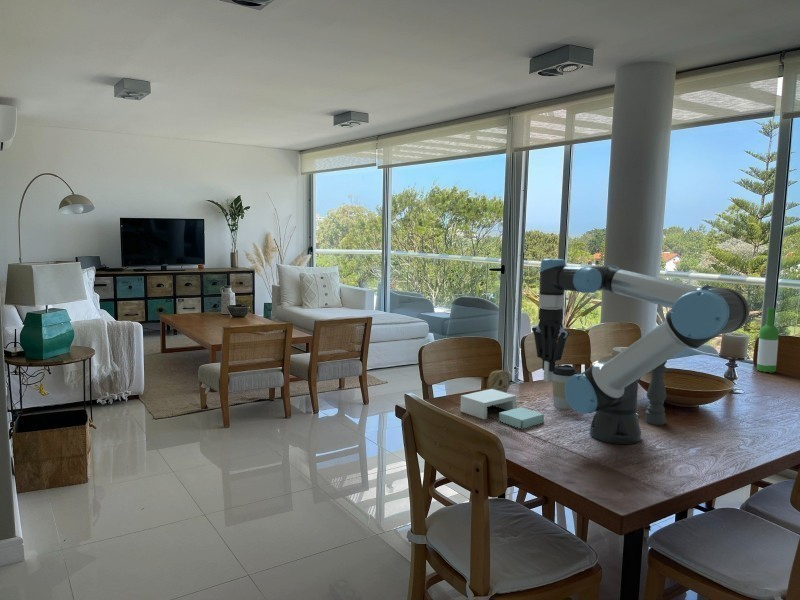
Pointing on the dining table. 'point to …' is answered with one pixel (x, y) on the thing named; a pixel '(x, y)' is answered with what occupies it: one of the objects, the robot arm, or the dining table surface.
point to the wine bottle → (768, 344)
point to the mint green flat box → (521, 417)
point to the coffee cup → (561, 385)
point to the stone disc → (498, 381)
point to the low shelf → (486, 402)
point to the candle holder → (656, 397)
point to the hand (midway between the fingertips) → (548, 380)
